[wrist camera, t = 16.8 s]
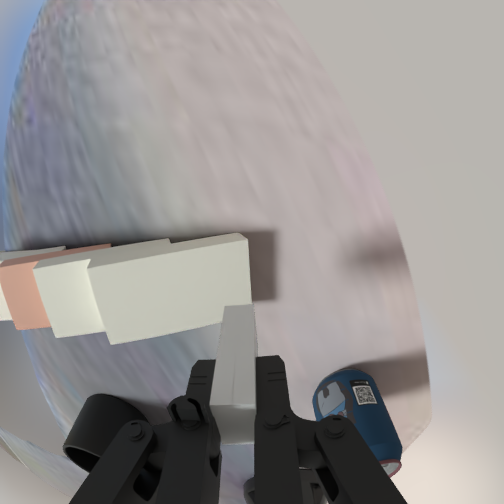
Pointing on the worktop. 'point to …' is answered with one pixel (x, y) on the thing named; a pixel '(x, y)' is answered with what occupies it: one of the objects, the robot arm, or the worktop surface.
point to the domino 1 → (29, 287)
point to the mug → (97, 429)
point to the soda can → (361, 413)
